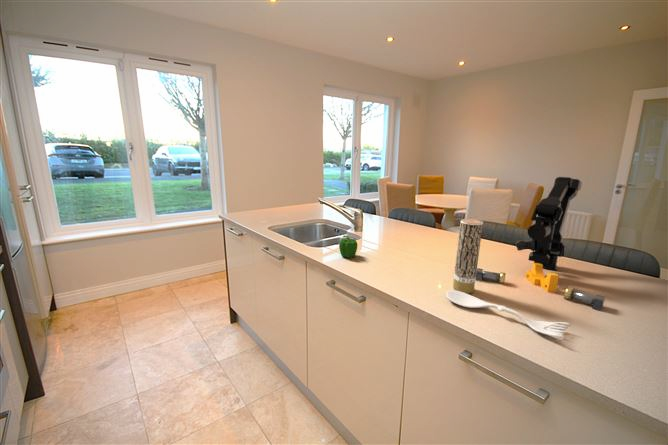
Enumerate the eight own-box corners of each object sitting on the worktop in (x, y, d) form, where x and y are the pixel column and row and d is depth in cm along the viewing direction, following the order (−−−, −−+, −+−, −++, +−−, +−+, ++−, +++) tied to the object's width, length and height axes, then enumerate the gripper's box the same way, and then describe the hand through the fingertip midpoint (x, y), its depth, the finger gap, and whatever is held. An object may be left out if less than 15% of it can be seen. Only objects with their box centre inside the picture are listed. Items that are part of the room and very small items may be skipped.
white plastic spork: (562, 348, 73) (565, 336, 72) (440, 302, 95) (441, 292, 95) (568, 333, 79) (571, 322, 78) (452, 293, 101) (453, 284, 101)
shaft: (562, 299, 97) (565, 288, 96) (565, 295, 100) (568, 285, 99) (601, 311, 90) (604, 299, 90) (603, 306, 93) (605, 295, 92)
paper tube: (449, 285, 107) (456, 219, 101) (467, 285, 107) (475, 218, 101) (458, 294, 100) (467, 223, 94) (477, 294, 101) (487, 223, 95)
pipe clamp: (525, 278, 115) (528, 262, 113) (537, 278, 114) (540, 263, 113) (542, 291, 103) (545, 274, 102) (555, 292, 103) (558, 275, 101)
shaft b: (503, 281, 111) (505, 271, 111) (504, 285, 108) (505, 275, 107) (475, 276, 116) (477, 266, 115) (475, 280, 112) (476, 270, 111)
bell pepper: (360, 255, 138) (361, 235, 135) (351, 260, 131) (352, 239, 129) (344, 252, 142) (345, 232, 140) (335, 257, 135) (336, 236, 133)
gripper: (522, 227, 125) (516, 261, 128) (516, 236, 110) (510, 275, 114) (554, 231, 118) (547, 268, 122) (552, 242, 104) (544, 282, 107)
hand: (536, 273), depth 116 cm, fingers closed
